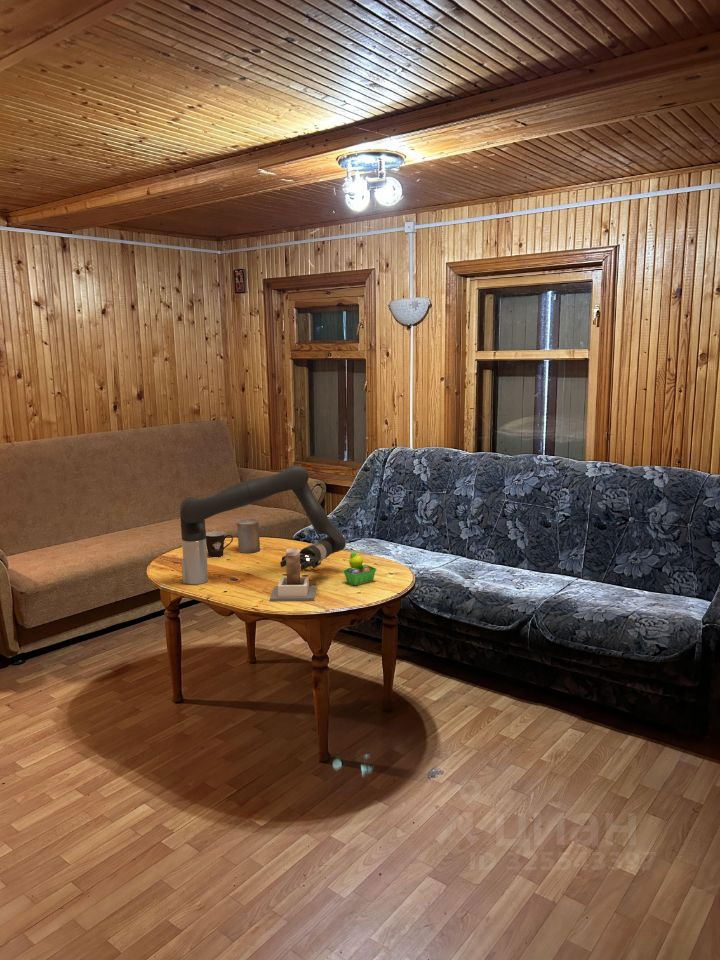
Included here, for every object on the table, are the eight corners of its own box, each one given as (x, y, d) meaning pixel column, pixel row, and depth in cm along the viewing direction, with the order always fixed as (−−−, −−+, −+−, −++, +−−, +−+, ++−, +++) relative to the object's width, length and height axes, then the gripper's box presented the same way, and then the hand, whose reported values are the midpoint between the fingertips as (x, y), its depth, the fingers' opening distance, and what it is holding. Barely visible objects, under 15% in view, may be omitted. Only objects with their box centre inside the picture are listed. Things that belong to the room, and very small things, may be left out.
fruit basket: (353, 587, 278) (353, 558, 276) (340, 581, 285) (340, 553, 283) (377, 581, 284) (377, 553, 282) (364, 576, 292) (363, 548, 290)
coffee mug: (203, 558, 318) (202, 536, 317) (208, 553, 327) (207, 531, 325) (230, 558, 318) (229, 536, 316) (234, 552, 327) (233, 531, 325)
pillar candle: (262, 547, 335) (260, 515, 332) (257, 553, 325) (255, 520, 322) (241, 547, 336) (239, 515, 333) (235, 553, 326) (234, 520, 323)
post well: (269, 601, 263) (269, 587, 262) (274, 588, 277) (274, 576, 276) (314, 600, 263) (313, 587, 262) (316, 588, 277) (316, 575, 276)
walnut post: (286, 594, 268) (285, 551, 265) (287, 589, 272) (286, 548, 270) (300, 594, 268) (299, 551, 265) (301, 589, 272) (300, 548, 270)
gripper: (296, 543, 284) (274, 553, 269) (329, 547, 278) (308, 558, 263) (297, 561, 285) (275, 573, 271) (329, 566, 279) (308, 578, 265)
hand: (291, 565), depth 267 cm, fingers open, 8 cm apart
